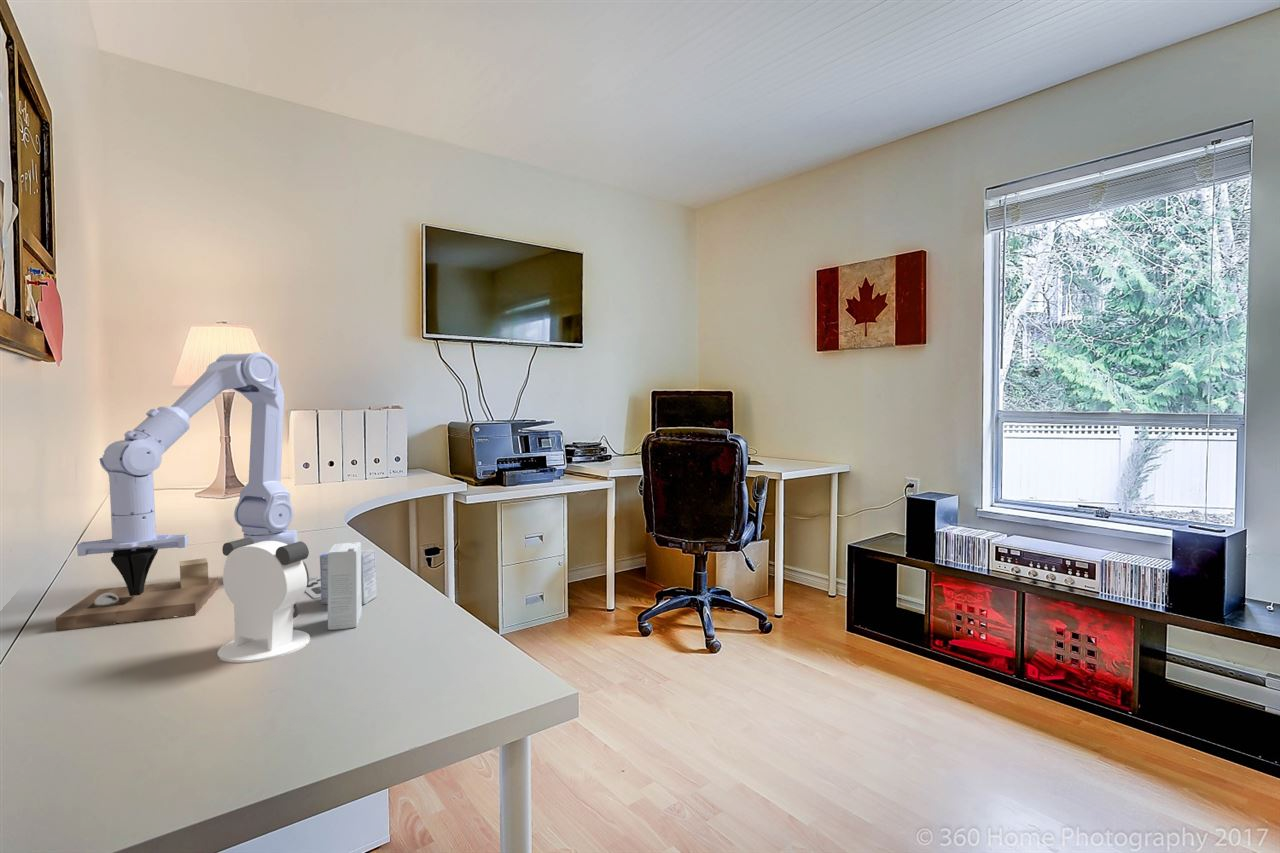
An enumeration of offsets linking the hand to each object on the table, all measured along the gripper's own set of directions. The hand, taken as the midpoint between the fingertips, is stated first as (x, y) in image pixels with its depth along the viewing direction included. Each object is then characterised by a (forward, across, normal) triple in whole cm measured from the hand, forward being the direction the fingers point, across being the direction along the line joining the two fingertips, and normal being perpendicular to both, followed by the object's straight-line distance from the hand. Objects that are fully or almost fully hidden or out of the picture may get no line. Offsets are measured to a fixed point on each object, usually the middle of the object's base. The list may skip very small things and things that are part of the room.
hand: (136, 594), depth 107 cm
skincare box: (+3, +32, -20) cm, 38 cm away
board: (+3, 0, +2) cm, 4 cm away
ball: (+1, -4, 0) cm, 4 cm away
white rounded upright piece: (+3, +22, -26) cm, 35 cm away
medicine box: (+3, +32, -8) cm, 34 cm away
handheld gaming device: (+3, +28, +4) cm, 29 cm away
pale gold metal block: (+1, +6, +7) cm, 10 cm away
